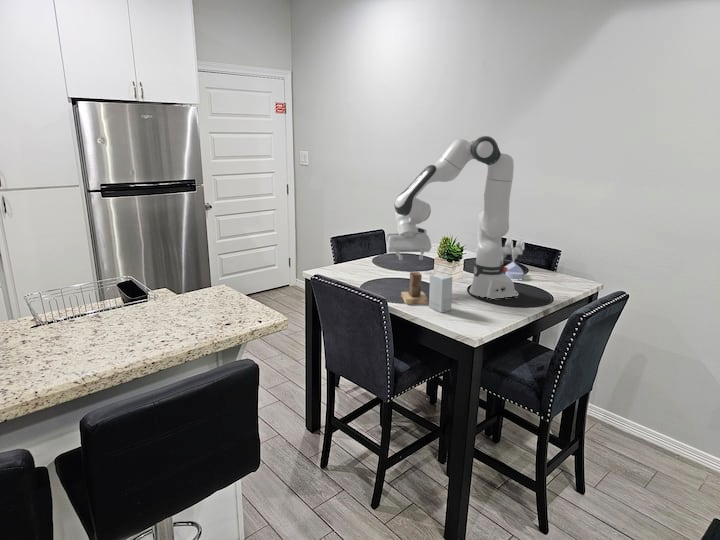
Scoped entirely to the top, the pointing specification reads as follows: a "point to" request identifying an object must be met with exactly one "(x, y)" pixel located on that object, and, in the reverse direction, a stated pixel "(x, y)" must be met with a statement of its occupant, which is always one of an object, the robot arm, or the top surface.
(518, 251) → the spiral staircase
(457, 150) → the robot arm
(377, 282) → the top surface
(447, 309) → the skincare box
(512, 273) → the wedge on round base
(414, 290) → the walnut post
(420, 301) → the oak slab
